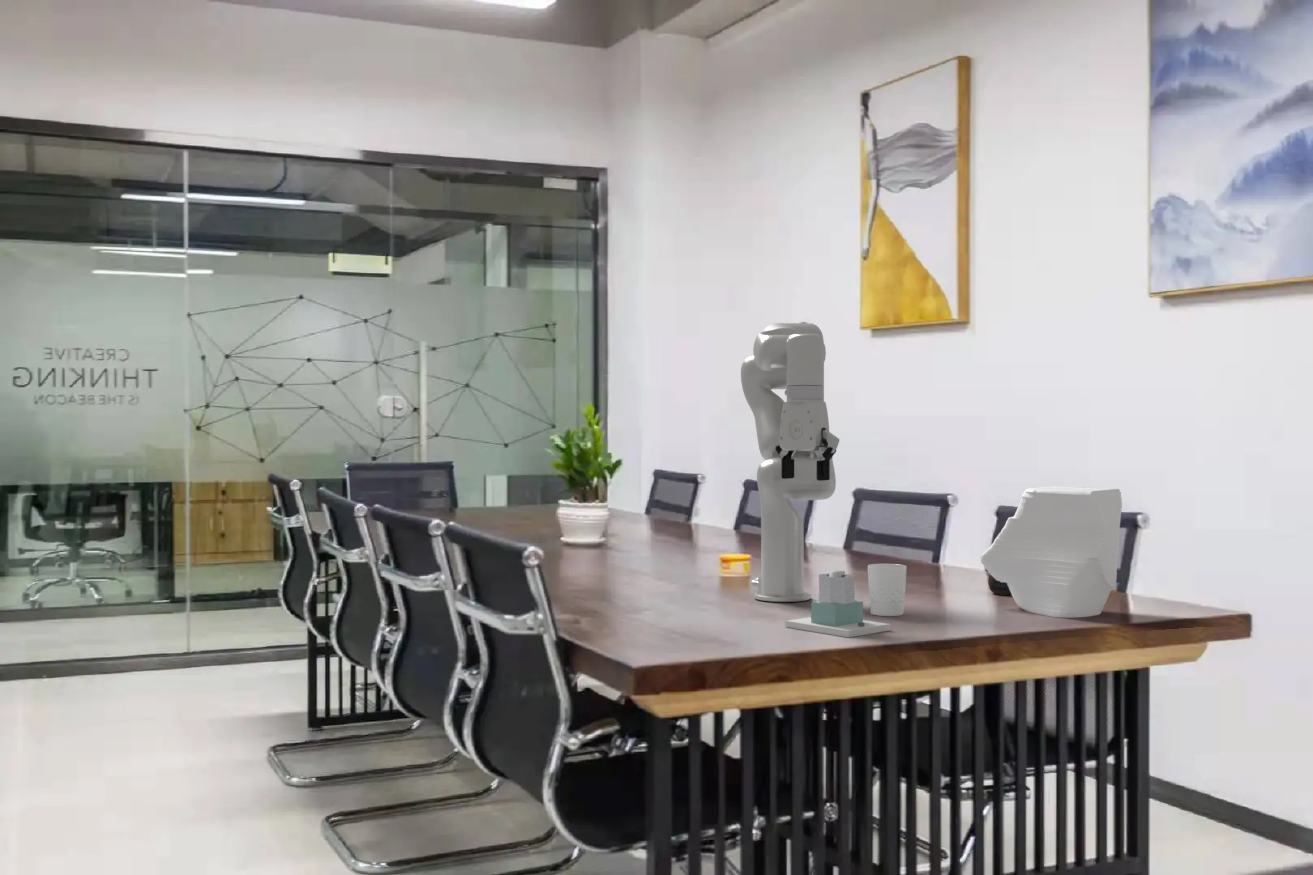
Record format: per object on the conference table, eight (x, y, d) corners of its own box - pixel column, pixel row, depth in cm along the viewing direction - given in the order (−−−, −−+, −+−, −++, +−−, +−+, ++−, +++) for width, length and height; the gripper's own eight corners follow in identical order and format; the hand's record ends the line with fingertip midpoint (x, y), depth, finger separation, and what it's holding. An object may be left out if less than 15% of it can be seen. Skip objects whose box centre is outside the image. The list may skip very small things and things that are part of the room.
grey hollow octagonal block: (812, 601, 245) (812, 575, 245) (835, 598, 249) (835, 572, 249) (838, 604, 240) (838, 578, 240) (861, 601, 244) (861, 575, 244)
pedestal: (785, 626, 247) (785, 570, 247) (827, 620, 255) (827, 565, 255) (847, 637, 235) (847, 577, 235) (890, 630, 242) (890, 572, 242)
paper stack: (1079, 622, 252) (1079, 492, 252) (976, 606, 274) (976, 486, 274) (1147, 613, 263) (1147, 488, 263) (1042, 598, 286) (1042, 483, 286)
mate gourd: (1020, 592, 296) (1020, 549, 296) (1021, 596, 289) (1021, 552, 289) (988, 591, 298) (988, 548, 298) (988, 595, 291) (988, 552, 290)
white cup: (880, 617, 258) (880, 568, 258) (860, 612, 266) (860, 564, 266) (914, 615, 261) (914, 566, 261) (893, 610, 269) (893, 562, 269)
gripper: (761, 395, 263) (761, 478, 263) (824, 394, 250) (824, 481, 250) (787, 395, 268) (787, 477, 268) (850, 394, 254) (850, 480, 255)
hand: (805, 479), depth 259 cm, fingers open, 9 cm apart
